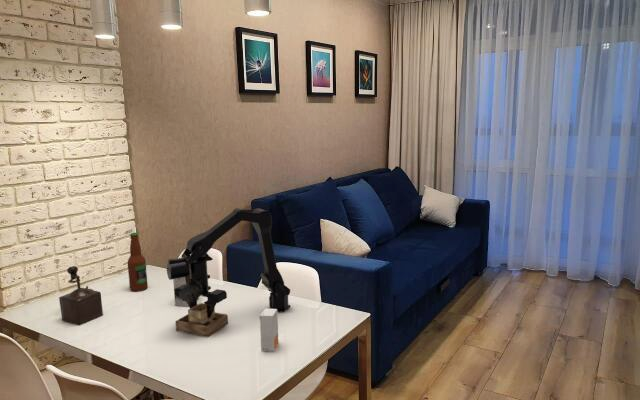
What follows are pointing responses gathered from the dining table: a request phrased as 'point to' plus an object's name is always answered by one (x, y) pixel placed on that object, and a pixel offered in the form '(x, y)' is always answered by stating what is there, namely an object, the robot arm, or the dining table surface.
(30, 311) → the dining table surface
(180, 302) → the coffee box
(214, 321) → the big crate
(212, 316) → the small crate
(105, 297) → the dining table surface
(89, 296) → the manual coffee grinder
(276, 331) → the skincare box
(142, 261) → the bottle
